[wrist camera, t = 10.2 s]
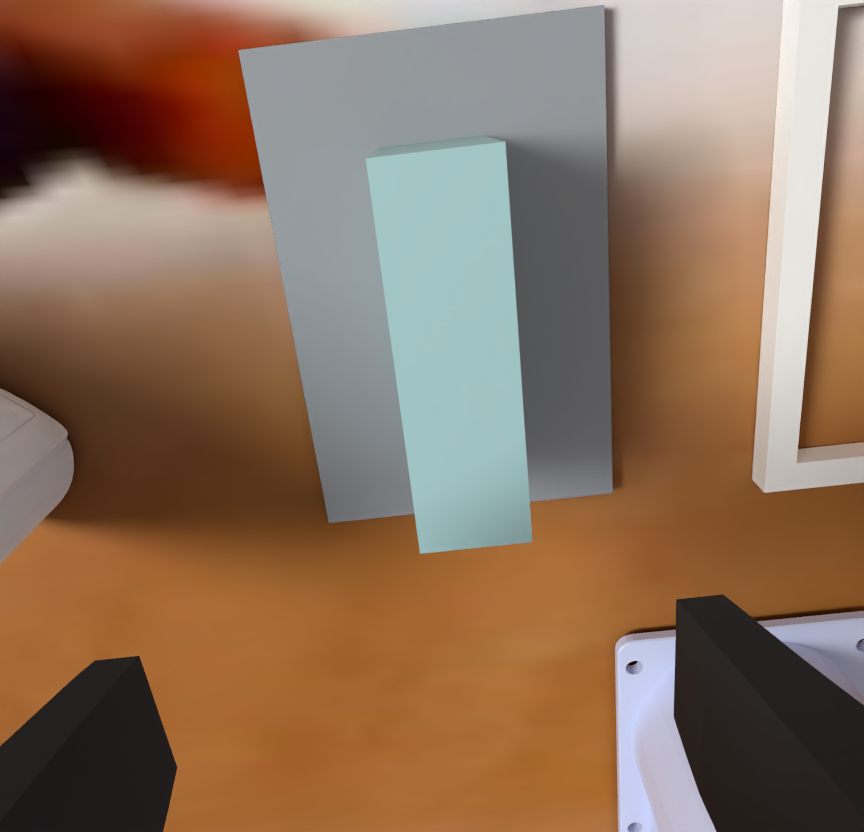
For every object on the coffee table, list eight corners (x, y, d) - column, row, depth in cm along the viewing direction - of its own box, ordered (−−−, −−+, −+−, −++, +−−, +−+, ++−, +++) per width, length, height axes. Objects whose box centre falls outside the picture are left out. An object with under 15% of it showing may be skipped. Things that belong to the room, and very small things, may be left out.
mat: (610, 487, 20) (612, 493, 20) (330, 517, 21) (328, 523, 20) (601, 6, 16) (603, 5, 16) (241, 51, 16) (238, 50, 16)
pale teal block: (507, 449, 20) (532, 541, 15) (419, 459, 20) (420, 553, 15) (483, 135, 17) (505, 141, 12) (379, 148, 17) (365, 158, 12)
